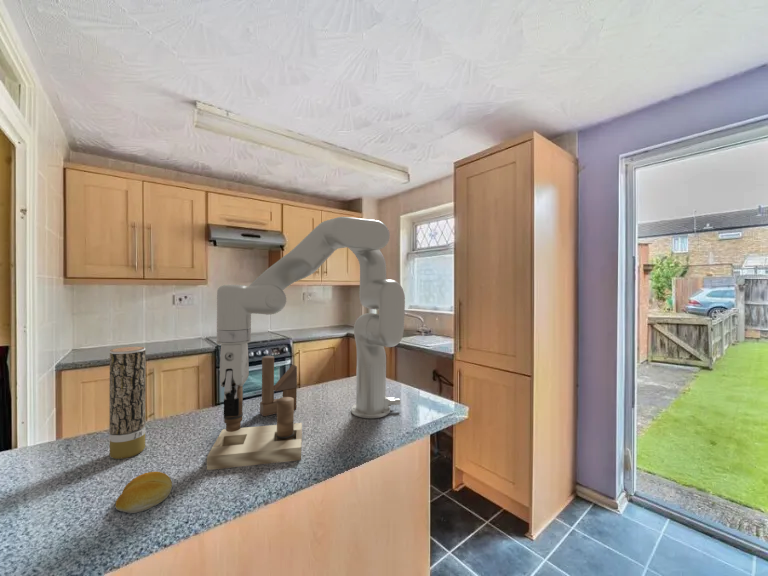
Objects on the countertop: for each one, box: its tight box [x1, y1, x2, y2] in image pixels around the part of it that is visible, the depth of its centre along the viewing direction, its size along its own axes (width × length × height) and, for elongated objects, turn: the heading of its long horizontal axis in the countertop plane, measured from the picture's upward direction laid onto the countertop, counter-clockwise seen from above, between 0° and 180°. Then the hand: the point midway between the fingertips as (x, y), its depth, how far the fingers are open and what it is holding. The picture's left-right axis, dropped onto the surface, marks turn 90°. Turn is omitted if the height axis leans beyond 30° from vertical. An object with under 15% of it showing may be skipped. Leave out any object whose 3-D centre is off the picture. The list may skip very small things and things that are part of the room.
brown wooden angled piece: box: [259, 355, 298, 417], centre depth 107 cm, size 4×11×18 cm, turn 126°
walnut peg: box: [223, 383, 244, 432], centre depth 80 cm, size 4×4×12 cm
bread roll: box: [115, 471, 173, 514], centre depth 63 cm, size 8×9×4 cm
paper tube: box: [108, 346, 147, 460], centre depth 80 cm, size 7×7×25 cm
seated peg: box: [276, 396, 295, 441], centre depth 83 cm, size 4×4×12 cm
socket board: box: [206, 422, 303, 471], centre depth 82 cm, size 20×14×3 cm
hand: (233, 411), depth 80 cm, fingers closed on walnut peg, 4 cm apart
